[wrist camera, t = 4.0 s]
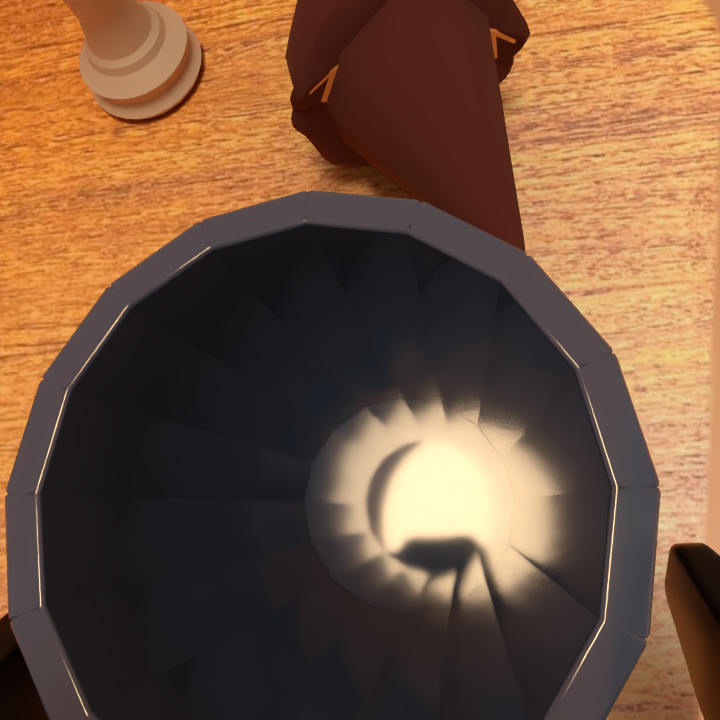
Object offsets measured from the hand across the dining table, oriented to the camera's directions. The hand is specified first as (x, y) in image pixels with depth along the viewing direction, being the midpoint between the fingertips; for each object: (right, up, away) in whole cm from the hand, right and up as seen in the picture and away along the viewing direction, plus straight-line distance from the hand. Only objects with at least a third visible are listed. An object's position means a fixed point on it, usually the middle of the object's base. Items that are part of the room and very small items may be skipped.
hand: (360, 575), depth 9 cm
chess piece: (-8, +15, +14) cm, 22 cm away
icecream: (+2, +11, +12) cm, 16 cm away
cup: (+1, -1, +9) cm, 9 cm away
